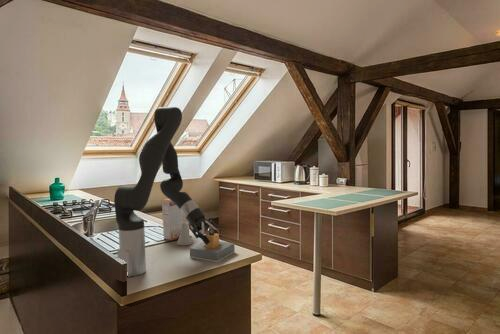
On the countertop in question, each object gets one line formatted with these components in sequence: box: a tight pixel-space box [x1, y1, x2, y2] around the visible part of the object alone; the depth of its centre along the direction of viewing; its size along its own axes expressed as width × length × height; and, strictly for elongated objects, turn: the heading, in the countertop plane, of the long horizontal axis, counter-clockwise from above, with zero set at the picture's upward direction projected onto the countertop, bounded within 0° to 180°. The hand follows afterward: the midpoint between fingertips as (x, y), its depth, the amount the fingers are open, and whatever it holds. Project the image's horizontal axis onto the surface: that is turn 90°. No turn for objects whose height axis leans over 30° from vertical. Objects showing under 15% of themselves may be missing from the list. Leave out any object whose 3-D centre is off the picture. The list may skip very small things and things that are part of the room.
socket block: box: [189, 240, 235, 263], centre depth 148 cm, size 14×14×4 cm
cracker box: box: [161, 197, 190, 241], centre depth 178 cm, size 14×6×21 cm, turn 149°
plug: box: [205, 231, 220, 249], centre depth 148 cm, size 4×4×10 cm
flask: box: [176, 223, 194, 246], centre depth 166 cm, size 7×7×10 cm
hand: (214, 240), depth 147 cm, fingers open, 8 cm apart
